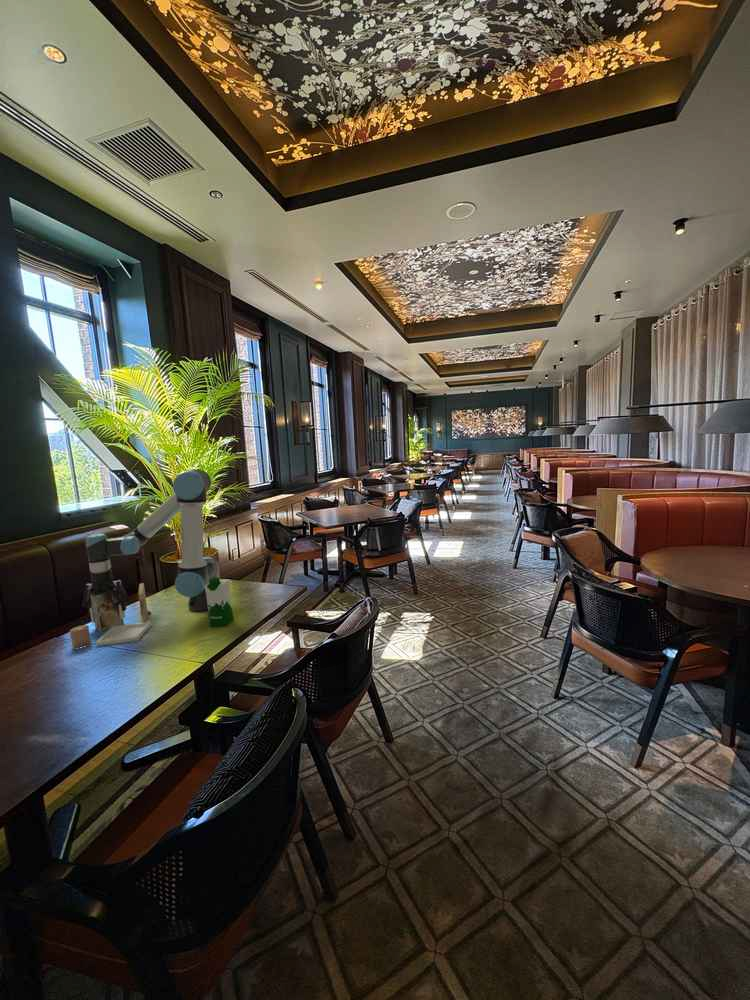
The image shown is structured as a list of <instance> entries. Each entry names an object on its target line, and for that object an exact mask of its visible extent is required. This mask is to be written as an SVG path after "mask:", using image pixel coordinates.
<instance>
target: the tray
mask: <svg viewBox="0 0 750 1000" xmlns="http://www.w3.org/2000/svg"><path fill="white" fill-rule="evenodd" d="M151 626H152V621H151V620H150V622H142V623H140V622H136V623H129V624H128V623H126V624H122V625H118V626H113V627H111V628H110V629H108V630H106V632H105V633H104V634H103V635H102V636H101V637H99V638H98V640H96V641H95V647H96V646H97V647H103V646H104V645H105V646H108V645H109V646H110V645H118V644H125V643H133V642H139V641H140V639H142V637H143V636H144V635H145V633H147V631H148V630H149V629H150V628H151Z"/></svg>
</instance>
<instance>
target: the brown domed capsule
mask: <svg viewBox="0 0 750 1000" xmlns="http://www.w3.org/2000/svg"><path fill="white" fill-rule="evenodd" d="M69 635H70V640H71V641H70V643H71V647H73V648H80V647H84V646H87V645H89V644H90V645H91V644H92V641H91V634H90V628H89V625H88V624H85V625H79V626H75V627H73V628H71V629H70V630H69ZM90 645H89V646H90ZM87 647H88V646H87ZM73 648H72V649H73Z"/></svg>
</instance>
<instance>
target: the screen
mask: <svg viewBox="0 0 750 1000" xmlns="http://www.w3.org/2000/svg"><path fill="white" fill-rule="evenodd" d="M145 590H146V589H145V583H144V582H142V583H139V585H138V602H139V608H140V617H141V621H139V623H142V622H150V621H151V619H148V618H149V617H148V616H149V615H150V614H151V612H152V611H151V609H148V605H147V597H146V591H145Z"/></svg>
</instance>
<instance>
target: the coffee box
mask: <svg viewBox="0 0 750 1000" xmlns="http://www.w3.org/2000/svg"><path fill="white" fill-rule="evenodd" d="M114 588H115V589H114V590H113V591H114V592H115V593H117V594H120V592H119V590H118V589H117V587H114ZM111 590H112V589H111ZM90 599H91V603H92V610H93V616H94V621H95V622H94V627H95V629H96V630H98V631H99V632H105V631H108V630H109V629H110V628H111V627H113V626H118V625H125V621H124V619H121V618H120V611H119V604H120V603H119V602H118V601H117V600H116V599H115V597H114V596H113V595H112V592H111V593H110V592H108V591H104V592H97V593H93V592H90V595H89V600H90Z"/></svg>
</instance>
